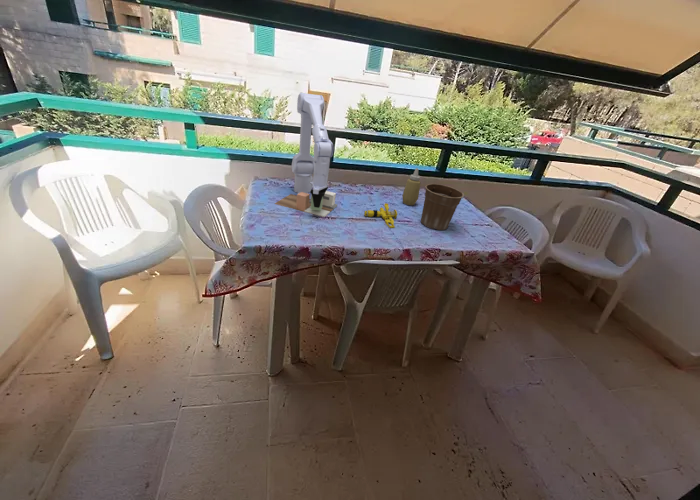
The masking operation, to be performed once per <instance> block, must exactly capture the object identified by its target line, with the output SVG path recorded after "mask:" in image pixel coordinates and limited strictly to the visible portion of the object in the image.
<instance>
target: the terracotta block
mask: <svg viewBox="0 0 700 500" xmlns="http://www.w3.org/2000/svg"><path fill="white" fill-rule="evenodd" d="M296 195H297V203H296V208H298V209H302V210H306V209H307V208H309V200H310V199H311V193H304V192H300V193H297V194H296Z"/></svg>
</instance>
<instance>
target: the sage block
mask: <svg viewBox="0 0 700 500" xmlns="http://www.w3.org/2000/svg"><path fill="white" fill-rule="evenodd" d="M310 199H311V209H312V210H318V211H320V210H321V209H322V204H323V197H322V200H321V204H320V207H319V208H317V207H314V203H313V197H312V196H311V195H310Z"/></svg>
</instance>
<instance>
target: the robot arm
mask: <svg viewBox="0 0 700 500" xmlns="http://www.w3.org/2000/svg"><path fill="white" fill-rule="evenodd" d="M296 102H297V105H296V110H297V111H296V112H297V113H298V114H299V115H300V131H299V132H300V133H299V134H300V135H299V150H298V151H299V152H297V153H296V154H295V155H293V156H292V162H291V171H292V173H293V174H294V182H293V183H294V185H293V191H294V192H295V193H297V194H299V193H300V192H304V193H308V194H310V196H311V195H312V197H313V203H314V207H317V208H319V207H320V204H321V200H322V197H323V198H324V195H325V192H326V191H328V189H329V186H328V179H329V171H330V164H331V162H330V161H331V158H332V157H333V154H334V144H333V142H332V141H331V139H330V138H329V135H328V131H327V130H328V129H327V126H326V125H324V124H323V118H322V117H323V116H322V113H323V110H324V107H325V98H324V96H323V95H322V94H312V93H303V92H299V94H298V96H297V101H296ZM311 138H312V139H313V142H314V143H313V144H314V145H313V156H312V154H311V142H312V139H311Z"/></svg>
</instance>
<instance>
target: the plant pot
mask: <svg viewBox="0 0 700 500" xmlns="http://www.w3.org/2000/svg"><path fill="white" fill-rule="evenodd" d="M424 187H425V191H424V201H423V207H422V213H421V218H420V223H421V225H423V226H424V227H427V228H428V229H432V230H433V229H436V230H437V231H445V230H447V229H448V228H449V226H450V224H451V221H452V218H453V216H454V215H455V212H456V210H457V207H458V206H459V204H460V202H461V201H462V198H464V196H465V194H464V193H463V192H462V191H460V190H459V189H457V188H455V187H452V186H450V185H445V184H439V183H429V184H426V185H425V186H424Z"/></svg>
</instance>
